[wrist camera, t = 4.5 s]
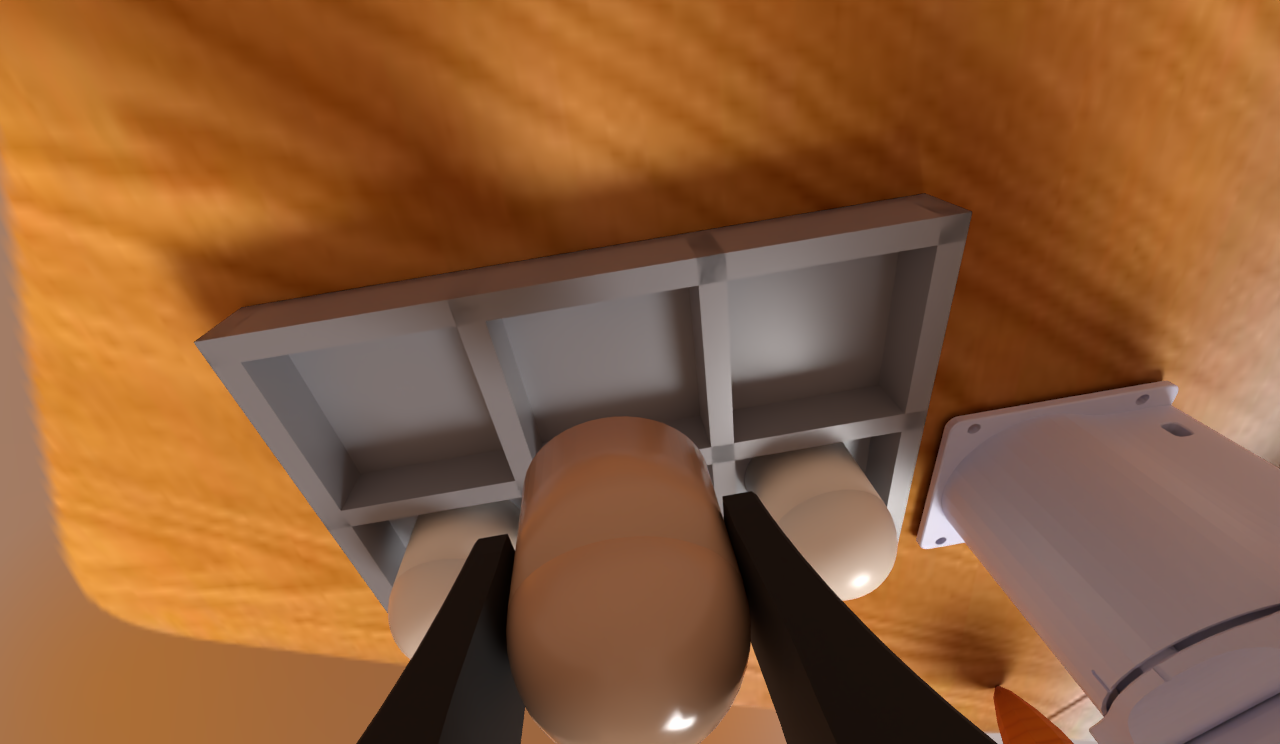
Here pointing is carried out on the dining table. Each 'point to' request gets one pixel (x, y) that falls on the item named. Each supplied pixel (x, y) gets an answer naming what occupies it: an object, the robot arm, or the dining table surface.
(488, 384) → the egg carton
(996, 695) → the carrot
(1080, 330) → the dining table surface
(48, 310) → the dining table surface
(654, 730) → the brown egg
